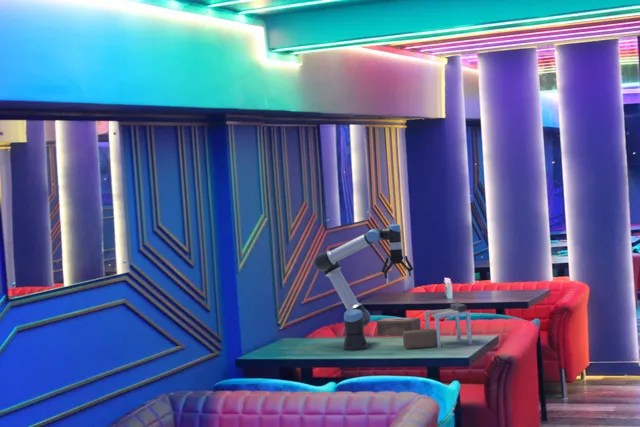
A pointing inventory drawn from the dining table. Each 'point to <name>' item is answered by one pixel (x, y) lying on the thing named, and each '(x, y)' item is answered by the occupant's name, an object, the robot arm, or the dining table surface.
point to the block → (419, 338)
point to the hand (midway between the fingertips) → (398, 282)
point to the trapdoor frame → (456, 324)
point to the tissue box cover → (397, 326)
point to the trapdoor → (452, 310)
